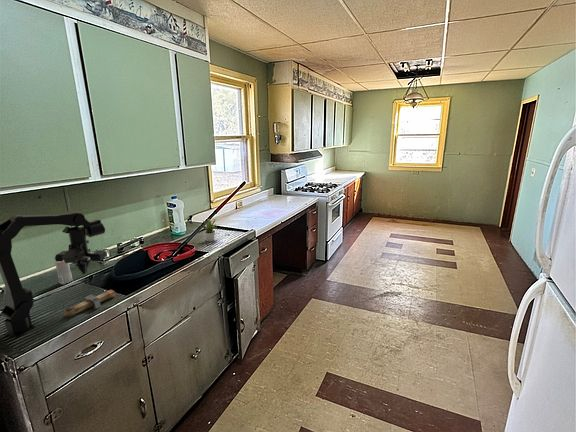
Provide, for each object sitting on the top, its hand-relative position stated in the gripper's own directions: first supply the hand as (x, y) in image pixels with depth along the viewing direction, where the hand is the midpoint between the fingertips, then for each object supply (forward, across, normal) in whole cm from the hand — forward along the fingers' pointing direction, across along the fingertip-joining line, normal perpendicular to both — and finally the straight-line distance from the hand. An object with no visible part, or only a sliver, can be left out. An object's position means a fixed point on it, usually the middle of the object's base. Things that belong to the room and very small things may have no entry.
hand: (84, 273), depth 132 cm
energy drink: (+13, -22, +18) cm, 31 cm away
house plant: (+12, +39, +78) cm, 88 cm away
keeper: (+13, +5, -5) cm, 15 cm away
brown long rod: (+12, +4, -6) cm, 14 cm away
